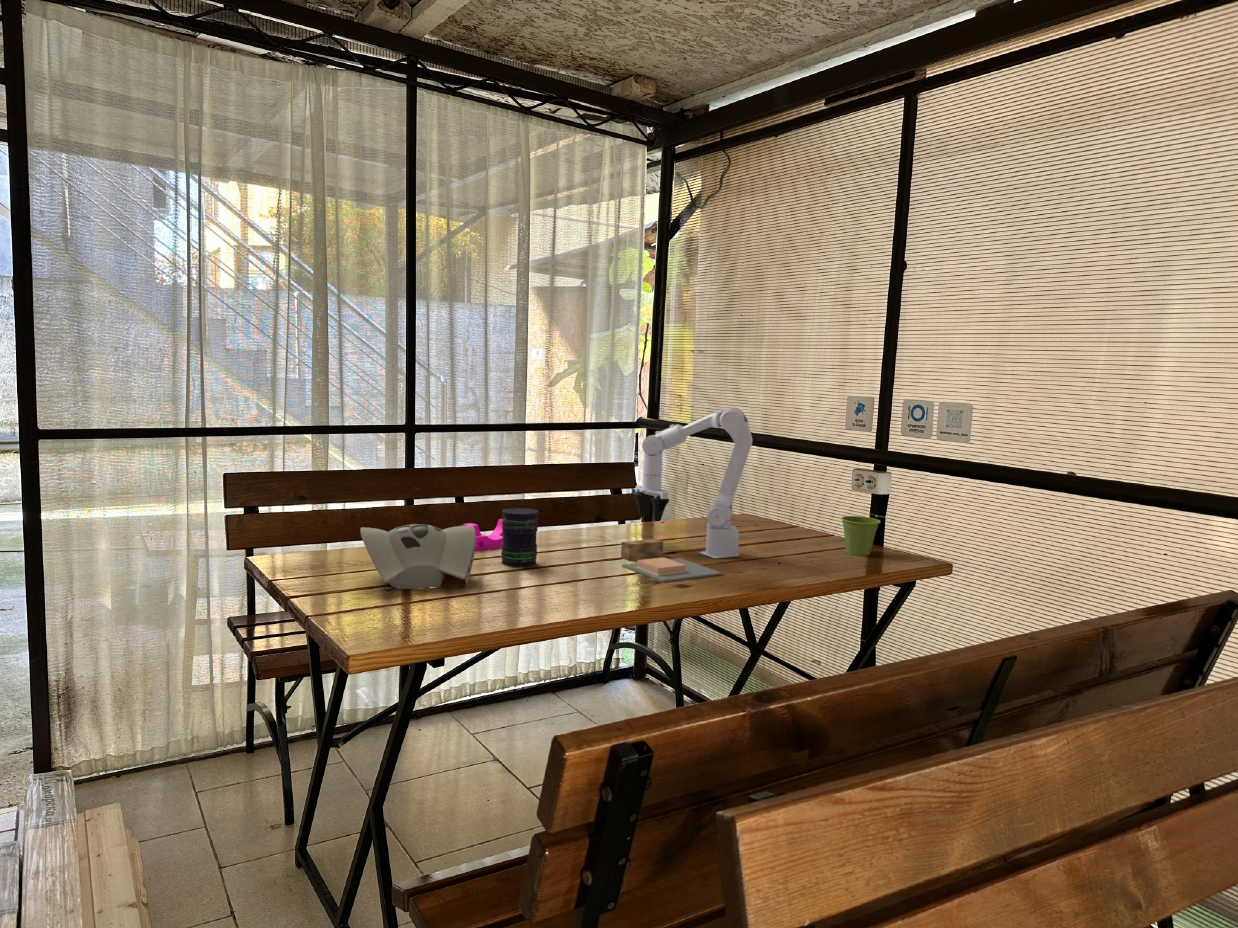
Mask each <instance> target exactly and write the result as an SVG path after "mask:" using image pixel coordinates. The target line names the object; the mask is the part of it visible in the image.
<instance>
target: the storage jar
mask: <svg viewBox="0 0 1238 928" xmlns="http://www.w3.org/2000/svg"><path fill="white" fill-rule="evenodd" d="M538 514H539V510H538V509H535V508H529V507H508V508H507V507H506V508H504V509H502V518H501V519H502V530H503V544H502V548H501V550H500V555H501V565H503V566H507V567H513V568H523V569H526V568H529V569H530V568H532V567H536V566H537V556H538V545H537V532H538V529H539V528H538V525H539V517H538Z"/></svg>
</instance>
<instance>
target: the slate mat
mask: <svg viewBox="0 0 1238 928" xmlns="http://www.w3.org/2000/svg"><path fill="white" fill-rule="evenodd" d="M669 559H670V560H673V561H676V562H678V563H681V564H684V565H685V572H684V573H675V574H667V575H659V576H658V575H655V574H653V573H650V572H648V571H645V570H643V569H640V568H637V562H634V563H633V562H631V563H623V564H622V568H625V569H628V570H630V571H633V572H635V573H637V574H640V575H643V576H644V577H646V578H647V577H648V578H650V579H652V580H655V581H658V582H660V583H669V582H676V581H685V580H692V579H693V580H694V579H698V578H708V577H715V575H717V576H722V575H723V573H722V572H720V571H718V570H715V569H714V568H713V569H712V568H709V567H706V566H704V565H701V564H699V563H695V562H692V561H691V560H690V561H689V560H686V559H684V558H680V557H678V558H669Z"/></svg>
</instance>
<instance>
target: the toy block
mask: <svg viewBox="0 0 1238 928" xmlns="http://www.w3.org/2000/svg"><path fill="white" fill-rule="evenodd" d="M502 519H503V518H499V519H498V521H497V524H496V527H495V528H494V530H493V531H492V532H491V533H490V534H488V535H485V534H482V532H481V531H480V527H479V524H476V523H472V522H469V523H467V522H466V523H463V524H462V526H468V525H470V526H473V527H474V529H475V536H476V544H475V552H484V550H486V551H489V550H488V549H492V550H496V549H495V548H498V549H502V544H503V530H502Z"/></svg>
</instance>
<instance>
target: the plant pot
mask: <svg viewBox="0 0 1238 928" xmlns="http://www.w3.org/2000/svg"><path fill="white" fill-rule="evenodd" d="M840 520H842V528H843V535H844V547H845V553H846V554H847V555H850V556H854V555H855V556H856V557H868V556H867V555H869V556H870V554H871V551H872V547H873V545H874V540H875V536H876V532H877V530H878V526H879V524H881V520H880V519H877V518H873V517H868V516H859V515H858V516H857V515H845V516H841V517H840Z"/></svg>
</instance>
